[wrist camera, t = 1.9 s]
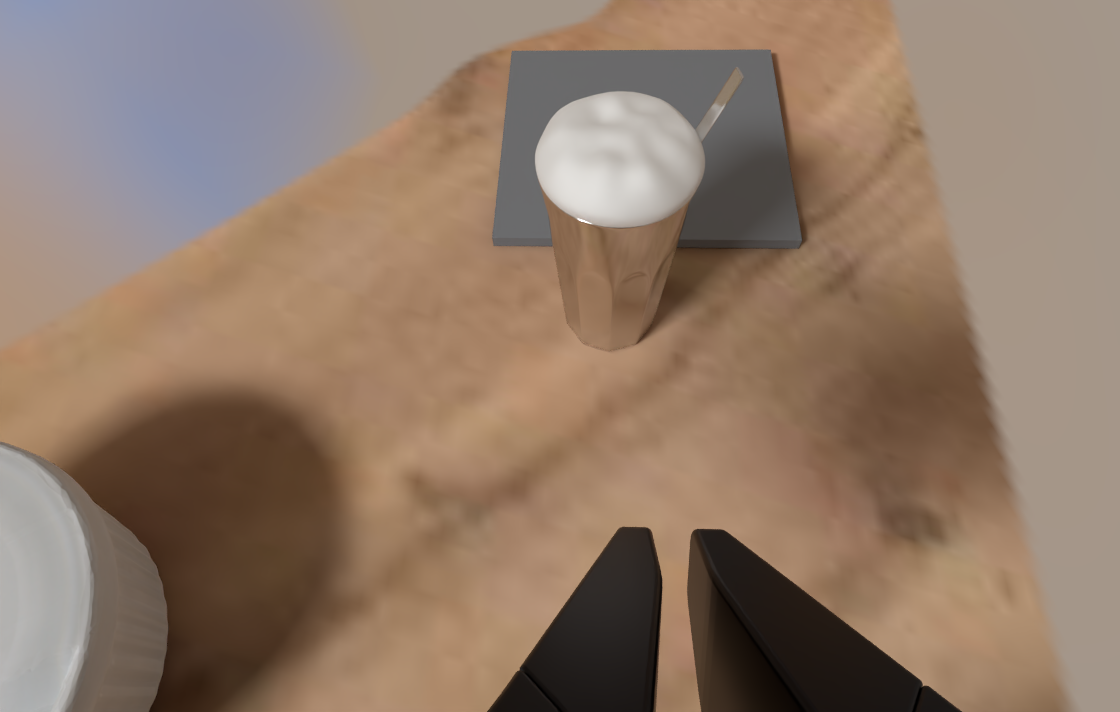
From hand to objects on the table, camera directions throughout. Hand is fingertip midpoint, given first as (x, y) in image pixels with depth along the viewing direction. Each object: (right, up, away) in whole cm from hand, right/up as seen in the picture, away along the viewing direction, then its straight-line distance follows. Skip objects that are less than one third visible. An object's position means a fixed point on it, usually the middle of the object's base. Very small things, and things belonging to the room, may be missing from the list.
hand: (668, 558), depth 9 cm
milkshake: (+1, +4, +17) cm, 17 cm away
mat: (+2, +12, +20) cm, 24 cm away
